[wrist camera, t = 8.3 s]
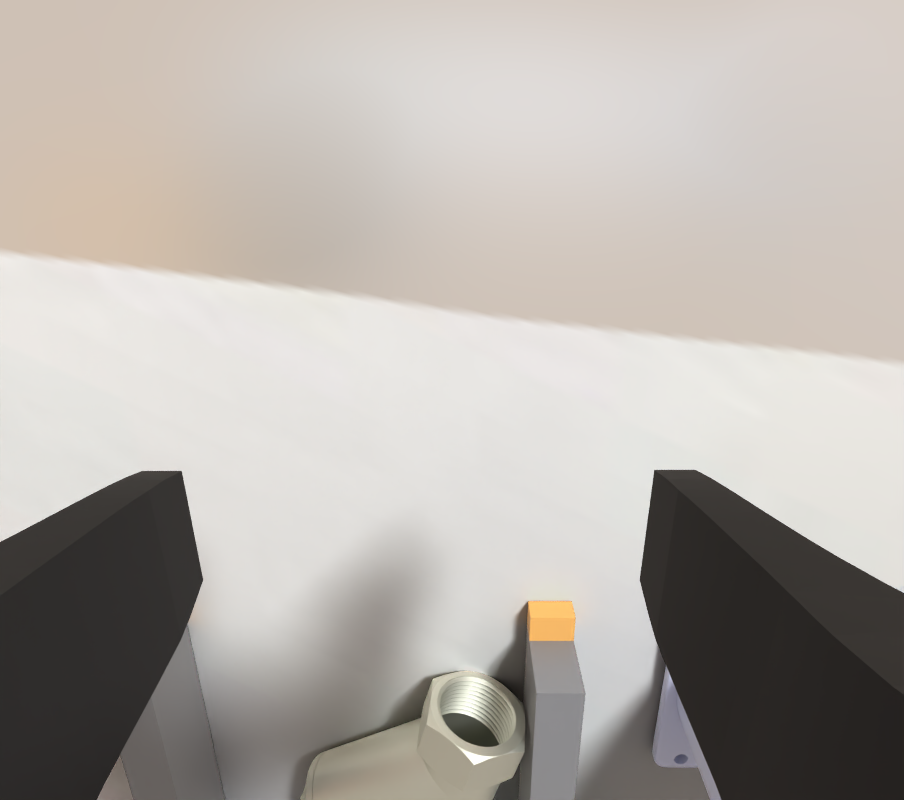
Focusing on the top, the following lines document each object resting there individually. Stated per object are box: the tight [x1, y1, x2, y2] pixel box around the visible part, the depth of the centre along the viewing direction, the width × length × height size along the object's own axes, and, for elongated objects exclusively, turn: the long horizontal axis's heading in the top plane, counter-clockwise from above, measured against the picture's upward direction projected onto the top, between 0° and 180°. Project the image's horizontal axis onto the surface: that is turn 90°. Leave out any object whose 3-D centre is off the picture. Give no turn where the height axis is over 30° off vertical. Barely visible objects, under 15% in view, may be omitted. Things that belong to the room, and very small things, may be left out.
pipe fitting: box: [300, 671, 525, 800], centre depth 24 cm, size 8×4×7 cm
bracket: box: [120, 601, 585, 800], centre depth 24 cm, size 15×13×3 cm
